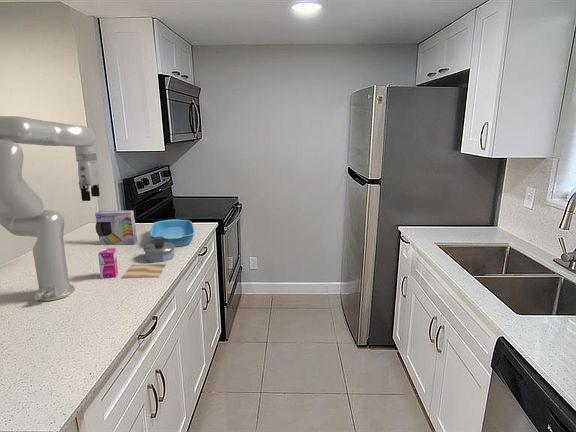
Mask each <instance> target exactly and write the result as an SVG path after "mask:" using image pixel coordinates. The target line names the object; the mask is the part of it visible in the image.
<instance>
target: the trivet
mask: <svg viewBox="0 0 576 432" xmlns="http://www.w3.org/2000/svg"><path fill="white" fill-rule="evenodd" d="M166 266H167V263H159V264H158V263H154V264H151V263H150V264H149V263H148V264H131V265H130V267H129V268H128V269H127V270H126V271H125V272H124V273H123V275H122V276H121V277H120V279H121V280H122V279H148V278H149V279H152V278H153V279H157V278H160V276H161V274H162V273H163V271H164V269H165V267H166Z"/></svg>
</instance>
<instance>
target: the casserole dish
mask: <svg viewBox="0 0 576 432" xmlns="http://www.w3.org/2000/svg"><path fill="white" fill-rule="evenodd" d="M149 234H150V237H151V239H152V242H153V243H154V239H155V237H164V242H169V243H173V244H175V248H179V247H187V246H188V245H190V244H191V243H192V242H193V239H194V236H195V235H194V234H195V227H194V224H193V222H192V221H191V220H188V219H166V220H159V221H154V222H153V223H152V224H151V227H150V232H149Z"/></svg>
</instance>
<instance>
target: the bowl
mask: <svg viewBox="0 0 576 432" xmlns="http://www.w3.org/2000/svg"><path fill="white" fill-rule="evenodd" d="M144 252H145V251H144ZM174 257H175V249H174V250H172V251H169V252H165V253H147V252H145V260H146V261H147V262H149V263H165V262H168V261H172V260H173V259H174Z"/></svg>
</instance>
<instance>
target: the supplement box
mask: <svg viewBox="0 0 576 432" xmlns="http://www.w3.org/2000/svg"><path fill="white" fill-rule="evenodd" d="M97 256H98V265H99V274H100V279H101V280H103V279H112V278H115V279H116V278H117V276H118V274H119V270H118V259H117V257H118V256H117V249H116V247H112V248H111V247H110V248H109V247H107V248H100V250H99V251H98V252H97Z"/></svg>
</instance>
